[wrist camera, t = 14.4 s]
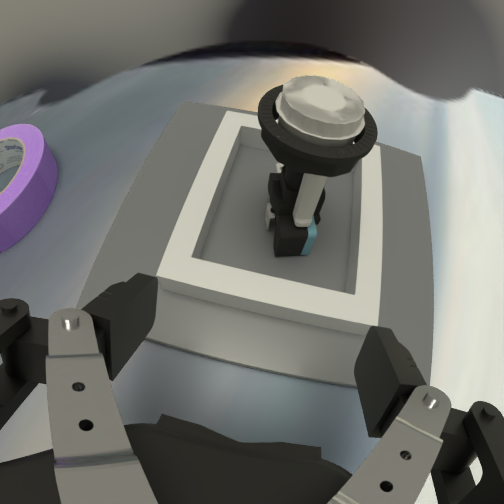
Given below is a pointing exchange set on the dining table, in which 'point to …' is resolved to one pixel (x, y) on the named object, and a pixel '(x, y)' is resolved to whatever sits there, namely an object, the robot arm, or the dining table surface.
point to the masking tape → (24, 181)
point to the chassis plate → (272, 253)
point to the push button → (309, 152)
